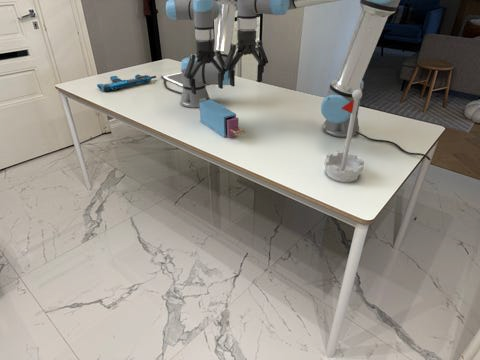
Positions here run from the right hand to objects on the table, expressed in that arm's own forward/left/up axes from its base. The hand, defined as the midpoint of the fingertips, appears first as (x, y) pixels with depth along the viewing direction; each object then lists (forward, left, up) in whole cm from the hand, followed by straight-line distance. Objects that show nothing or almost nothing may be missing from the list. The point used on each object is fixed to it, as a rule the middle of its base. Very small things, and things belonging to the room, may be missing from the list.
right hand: (246, 83), depth 145 cm
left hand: (+11, +14, -5) cm, 18 cm away
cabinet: (+3, +13, -19) cm, 23 cm away
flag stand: (-52, -12, -19) cm, 57 cm away
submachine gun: (+88, +39, -19) cm, 98 cm away
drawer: (-3, +12, -18) cm, 22 cm away
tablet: (+78, +3, -19) cm, 80 cm away
